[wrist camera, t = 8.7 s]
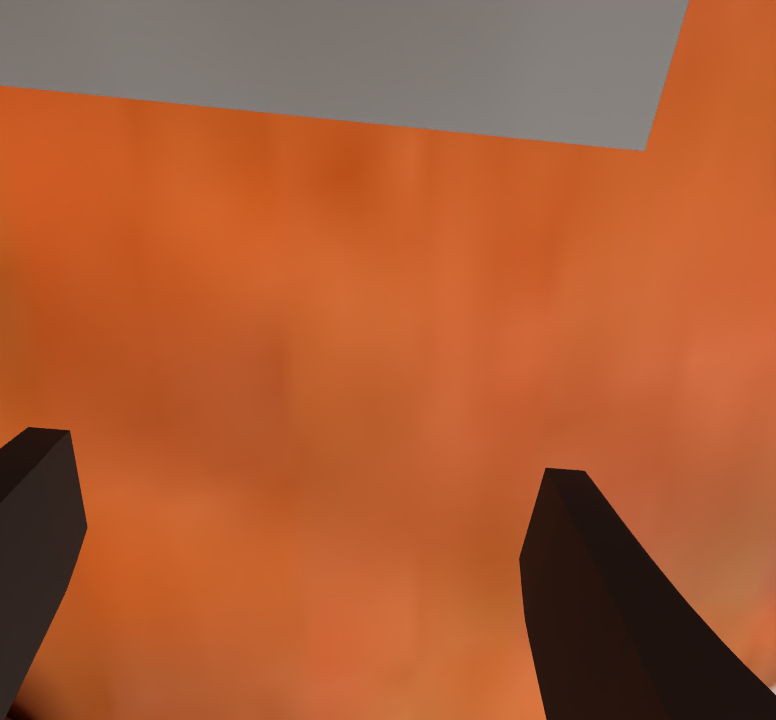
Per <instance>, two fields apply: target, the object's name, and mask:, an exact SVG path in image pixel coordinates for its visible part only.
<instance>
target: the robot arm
mask: <svg viewBox="0 0 776 720" xmlns="http://www.w3.org/2000/svg"><path fill="white" fill-rule="evenodd" d="M86 530H87V522H86V516H85V511H84V505H83V500H82V494H81V489H80V483H79V478H78V472H77V467H76V461H75V456H74V450H73V445H72V439H71V434H70V430H58V429H45V428H32V427H28V428H27V429H25V430H24V431H23V432H21V433H20V434H19V435H17V436H16V437H15V438H13V439H12V440H11V441H9V442H8V443H7V444H6V445H4V446H3V447H2V448H1V449H0V720H4V719H5V717H6V715H7V713H8V711H9V709H10V707H11V705H12V703H13V701H14V699H15V697H16V694H17V692H18V690H19V688H20V686H21V684H22V682H23V680H24V678H25V676H26V674H27V672H28V670H29V668H30V666H31V664H32V662H33V659H34V657H35V655H36V653H37V651H38V649H39V647H40V645H41V643H42V641H43V639H44V637H45V635H46V633H47V630H48V628H49V626H50V624H51V622H52V620H53V618H54V616H55V614H56V612H57V610H58V607H59V605H60V603H61V601H62V599H63V597H64V595H65V592H66V590H67V588H68V585H69V582H70V579H71V576H72V573H73V570H74V567H75V565H76V562H77V559H78V555H79V552H80V549H81V546H82V543H83V540H84V537H85V534H86ZM519 561H520V573H521V585H522V596H523V605H524V615H525V622H526V627H527V632H528V637H529V642H530V646H531V651H532V656H533V660H534V665H535V670H536V674H537V679H538V683H539V688H540V692H541V697H542V701H543V706H544V710H545V715H546V719H547V720H776V695H775V694H774V693H773V692H772V691H771V690H770V689H769V688H768V687H767V686H766V685H765V684H764V683H763V682H762V681H761V680H760V679H759V678H758V677H757V676H756V675H755V674H754V673H753V672H752V671H751V670H750V669H749V668H748V667H747V666H746V665H744V664H743V662H742V661H741V660H740V659H739V658H738V657H737V656H736V655H735V654H734V653H733V652H732V651H731V650H730V649H729V648H728V647H727V646H726V645H725V644H724V643H723V642H722V641H721V639H720V638H719V637H718V636H717V635H716V634H715V633H714V632H713V631H712V629H711V628H710V627H709V626H708V625H707V624H706V623H705V622H704V621H703V619H702V618H701V617H700V616H699V615H698V614H697V613H696V612H695V611H694V609H693V608H692V607H691V606H690V605H689V604H688V602H687V601H686V600H685V599H684V598H683V597H682V595H681V594H680V593H679V592H678V591H677V589H676V588H675V587H674V586H673V584H672V583H671V582H670V581H669V580H668V578H667V577H666V576H665V575H664V573H663V572H662V571H661V570H660V568H659V567H658V566H657V565H656V564H655V562H654V561H653V560H652V559H651V557H650V556H649V555H648V554H647V552H646V551H645V550H644V548H643V547H642V546H641V545H640V543H639V542H638V541H637V539H636V538H635V537H634V535H633V534H632V533H631V532H630V530H629V529H628V528H627V526H626V525H625V524H624V522H623V521H622V520H621V518H620V517H619V516H618V514H617V513H616V512H615V510H614V509H613V508H612V506H611V505H610V504H609V502H608V501H607V500H606V498H605V497H604V496H603V494H602V493H601V492H600V490H599V489H598V488H597V486H596V485H595V484H594V482H593V481H592V480H591V478H590V477H589V476H588V475H587V473H586V472H585V471H580V470H567V469H555V468H546V469H545V472H544V475H543V479H542V482H541V486H540V489H539V493H538V496H537V499H536V503H535V506H534V510H533V513H532V516H531V520H530V523H529V527H528V530H527V534H526V537H525V540H524V544H523V547H522V551H521V554H520V558H519Z"/></svg>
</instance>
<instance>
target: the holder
mask: <svg viewBox="0 0 776 720" xmlns="http://www.w3.org/2000/svg"><path fill="white" fill-rule="evenodd" d="M688 3H689V0H0V85H1V86H11V87H21V88H30V89H40V90H50V91H60V92H70V93H79V94H89V95H99V96H109V97H119V98H129V99H138V100H148V101H158V102H168V103H178V104H187V105H197V106H207V107H217V108H227V109H236V110H246V111H256V112H266V113H276V114H286V115H295V116H305V117H315V118H325V119H335V120H344V121H354V122H364V123H374V124H384V125H394V126H403V127H413V128H423V129H433V130H443V131H452V132H462V133H472V134H482V135H492V136H502V137H511V138H521V139H531V140H541V141H551V142H560V143H570V144H580V145H590V146H600V147H610V148H619V149H629V150H639V151H645V148H646V144H647V141H648V137H649V134H650V131H651V127H652V124H653V121H654V117H655V114H656V111H657V107H658V104H659V100H660V97H661V94H662V90H663V87H664V84H665V80H666V77H667V73H668V70H669V67H670V63H671V60H672V57H673V53H674V50H675V47H676V43H677V40H678V36H679V33H680V30H681V26H682V23H683V20H684V16H685V13H686V9H687V6H688Z"/></svg>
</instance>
